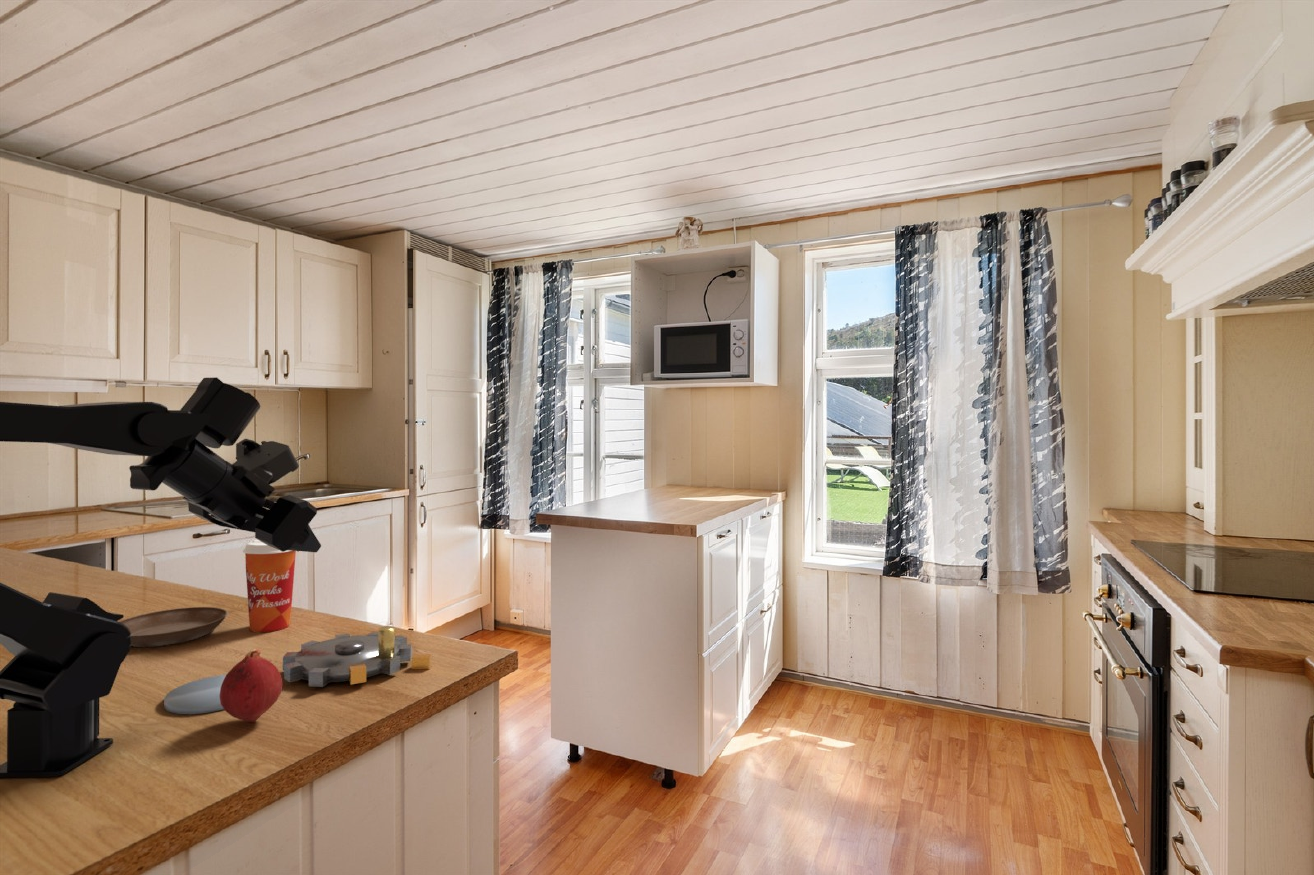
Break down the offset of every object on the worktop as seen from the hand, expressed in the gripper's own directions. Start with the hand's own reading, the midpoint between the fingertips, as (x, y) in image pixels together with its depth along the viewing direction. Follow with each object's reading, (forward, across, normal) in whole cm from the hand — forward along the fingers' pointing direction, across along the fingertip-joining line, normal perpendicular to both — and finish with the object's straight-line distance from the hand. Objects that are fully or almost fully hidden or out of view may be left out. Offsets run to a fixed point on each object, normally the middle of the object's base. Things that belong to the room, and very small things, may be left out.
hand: (296, 540), depth 87 cm
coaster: (+2, -4, +20) cm, 20 cm away
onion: (-1, -14, +20) cm, 24 cm away
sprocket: (+12, -9, +11) cm, 19 cm away
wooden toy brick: (+13, -12, +9) cm, 20 cm away
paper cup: (+19, +16, +11) cm, 28 cm away
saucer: (+12, +26, +18) cm, 34 cm away
